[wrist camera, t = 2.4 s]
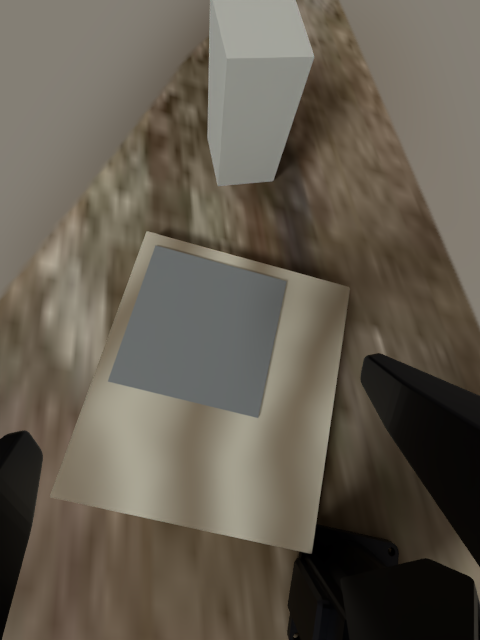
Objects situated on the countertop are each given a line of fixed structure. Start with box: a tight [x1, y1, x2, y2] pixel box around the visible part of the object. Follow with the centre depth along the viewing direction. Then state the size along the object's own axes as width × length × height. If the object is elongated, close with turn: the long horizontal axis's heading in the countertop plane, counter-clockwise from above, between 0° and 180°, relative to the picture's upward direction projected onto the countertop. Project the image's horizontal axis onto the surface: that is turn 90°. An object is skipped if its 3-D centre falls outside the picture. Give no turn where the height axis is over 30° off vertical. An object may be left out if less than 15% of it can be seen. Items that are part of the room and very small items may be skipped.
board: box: [50, 231, 350, 554], centre depth 21 cm, size 16×18×2 cm
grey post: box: [208, 0, 314, 186], centre depth 21 cm, size 5×5×10 cm
